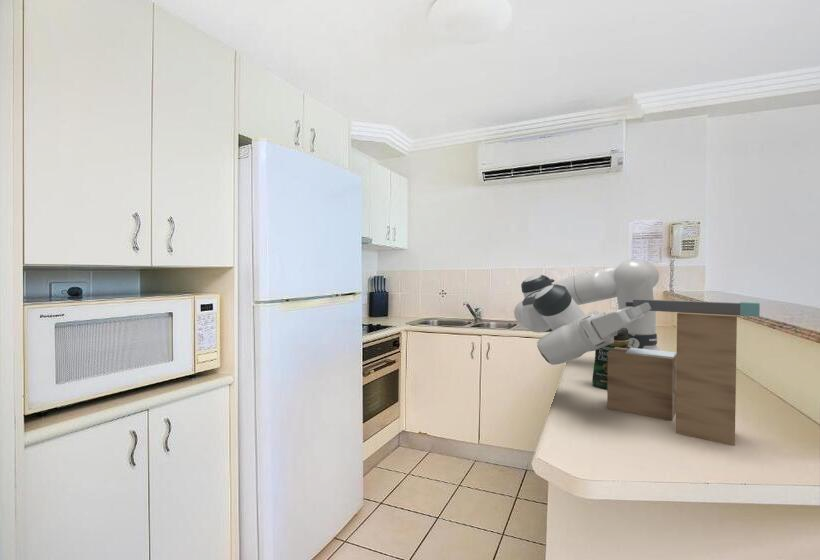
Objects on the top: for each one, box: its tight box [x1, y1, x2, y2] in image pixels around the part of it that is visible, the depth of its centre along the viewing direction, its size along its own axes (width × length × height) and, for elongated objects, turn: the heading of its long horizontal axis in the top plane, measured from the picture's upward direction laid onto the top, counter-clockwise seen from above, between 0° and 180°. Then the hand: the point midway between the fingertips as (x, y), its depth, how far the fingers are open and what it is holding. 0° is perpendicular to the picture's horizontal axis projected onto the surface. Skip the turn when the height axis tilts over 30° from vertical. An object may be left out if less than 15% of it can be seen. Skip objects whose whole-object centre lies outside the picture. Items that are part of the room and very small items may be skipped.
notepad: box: [626, 348, 677, 359], centre depth 100 cm, size 7×10×1 cm
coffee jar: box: [591, 328, 629, 390], centre depth 122 cm, size 10×8×19 cm
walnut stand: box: [606, 312, 738, 446], centre depth 95 cm, size 16×26×26 cm, turn 51°
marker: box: [626, 299, 761, 317], centre depth 89 cm, size 3×24×3 cm, turn 51°
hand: (653, 303), depth 93 cm, fingers open, 8 cm apart
